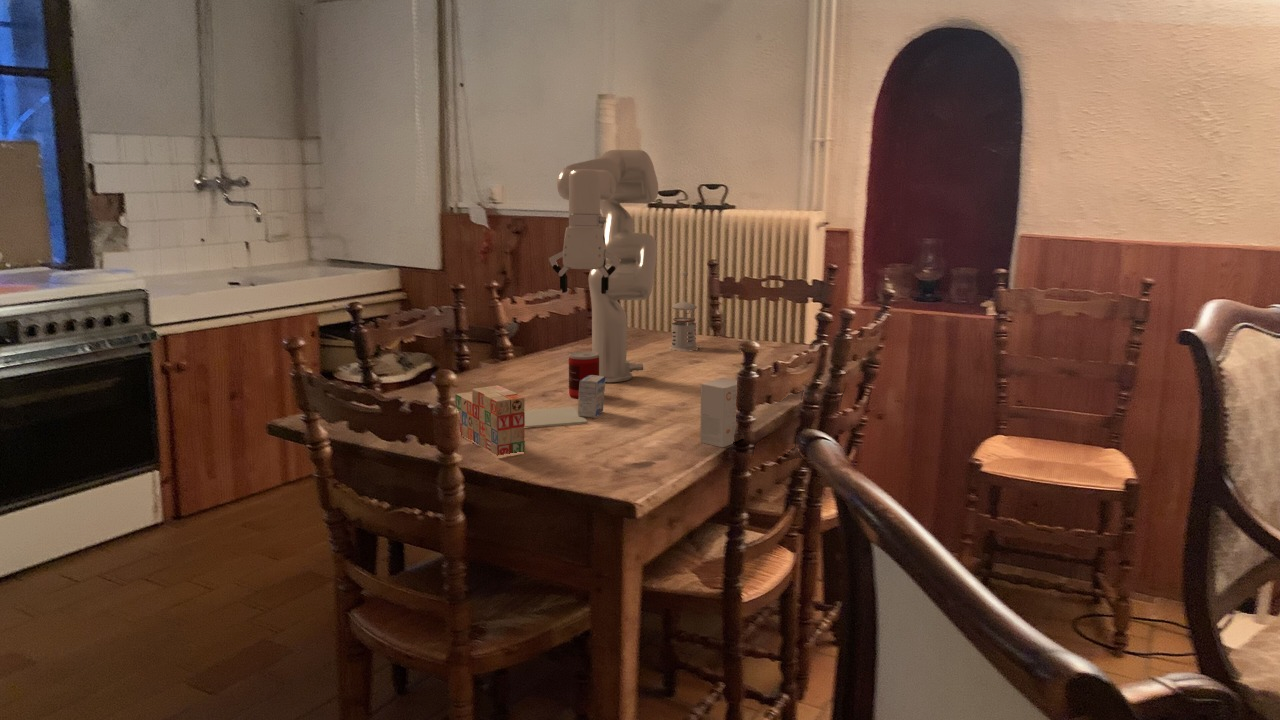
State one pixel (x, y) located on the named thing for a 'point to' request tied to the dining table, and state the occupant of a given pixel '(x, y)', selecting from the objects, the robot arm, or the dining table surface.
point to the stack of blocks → (493, 419)
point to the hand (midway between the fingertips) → (584, 292)
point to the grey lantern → (684, 327)
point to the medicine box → (591, 396)
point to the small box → (718, 412)
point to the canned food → (581, 369)
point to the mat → (553, 417)
